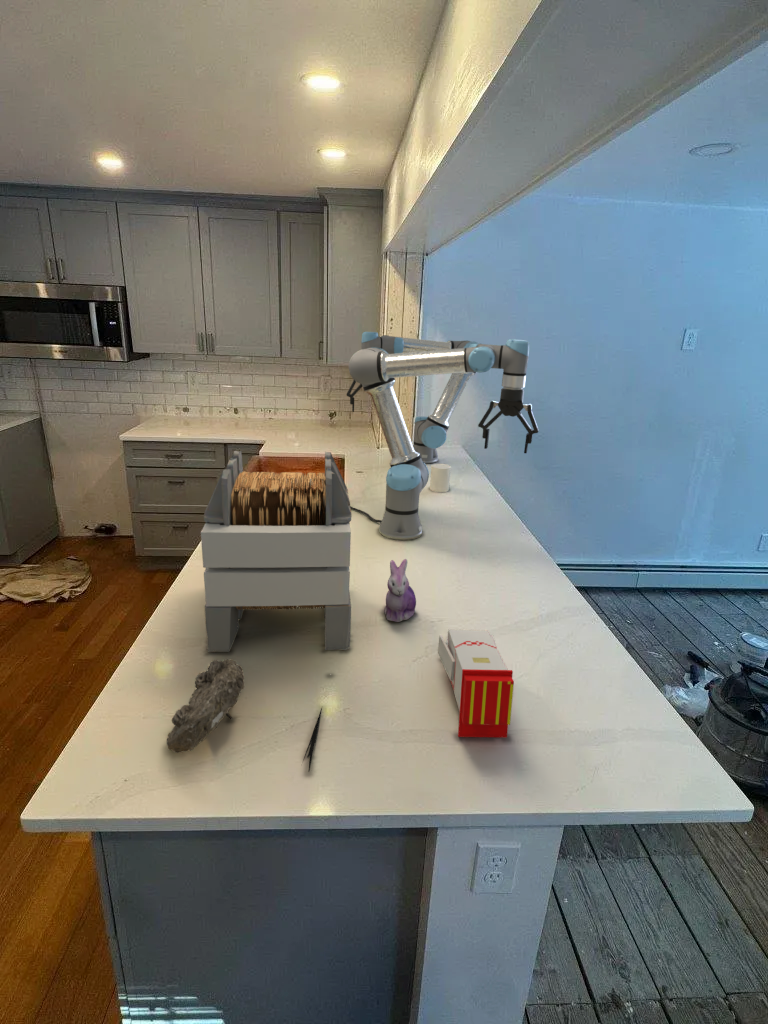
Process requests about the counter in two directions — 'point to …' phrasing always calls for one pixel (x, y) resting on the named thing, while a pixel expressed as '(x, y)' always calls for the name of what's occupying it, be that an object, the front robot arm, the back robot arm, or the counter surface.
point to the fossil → (206, 705)
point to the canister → (440, 477)
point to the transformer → (277, 549)
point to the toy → (478, 682)
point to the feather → (313, 740)
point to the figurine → (399, 594)
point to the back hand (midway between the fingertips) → (367, 411)
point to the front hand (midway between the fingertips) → (505, 450)
